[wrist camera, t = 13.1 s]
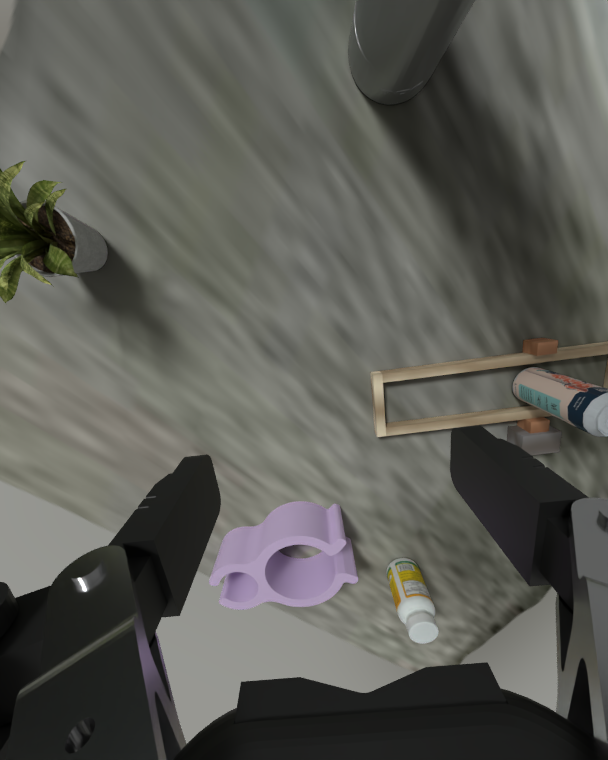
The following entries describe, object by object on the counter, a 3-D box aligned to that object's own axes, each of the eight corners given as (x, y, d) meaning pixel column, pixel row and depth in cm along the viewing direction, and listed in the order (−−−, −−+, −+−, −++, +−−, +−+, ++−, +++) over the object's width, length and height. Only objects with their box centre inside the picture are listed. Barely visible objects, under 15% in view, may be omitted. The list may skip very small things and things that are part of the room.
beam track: (369, 360, 39) (374, 365, 36) (621, 327, 38) (647, 329, 35) (377, 460, 43) (382, 472, 40) (604, 434, 42) (626, 444, 39)
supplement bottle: (403, 551, 48) (427, 612, 39) (424, 569, 49) (452, 632, 40) (378, 569, 49) (396, 633, 40) (399, 587, 50) (421, 653, 41)
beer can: (553, 380, 40) (654, 415, 28) (525, 406, 41) (612, 450, 29) (530, 358, 39) (624, 385, 28) (502, 385, 40) (582, 422, 29)
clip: (240, 580, 50) (230, 624, 43) (212, 521, 47) (197, 559, 40) (355, 552, 48) (363, 594, 42) (335, 490, 45) (340, 524, 38)
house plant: (174, 223, 35) (66, 164, 19) (135, 328, 38) (17, 353, 22) (52, 156, 33) (-178, 30, 17) (23, 274, 36) (-192, 258, 20)
